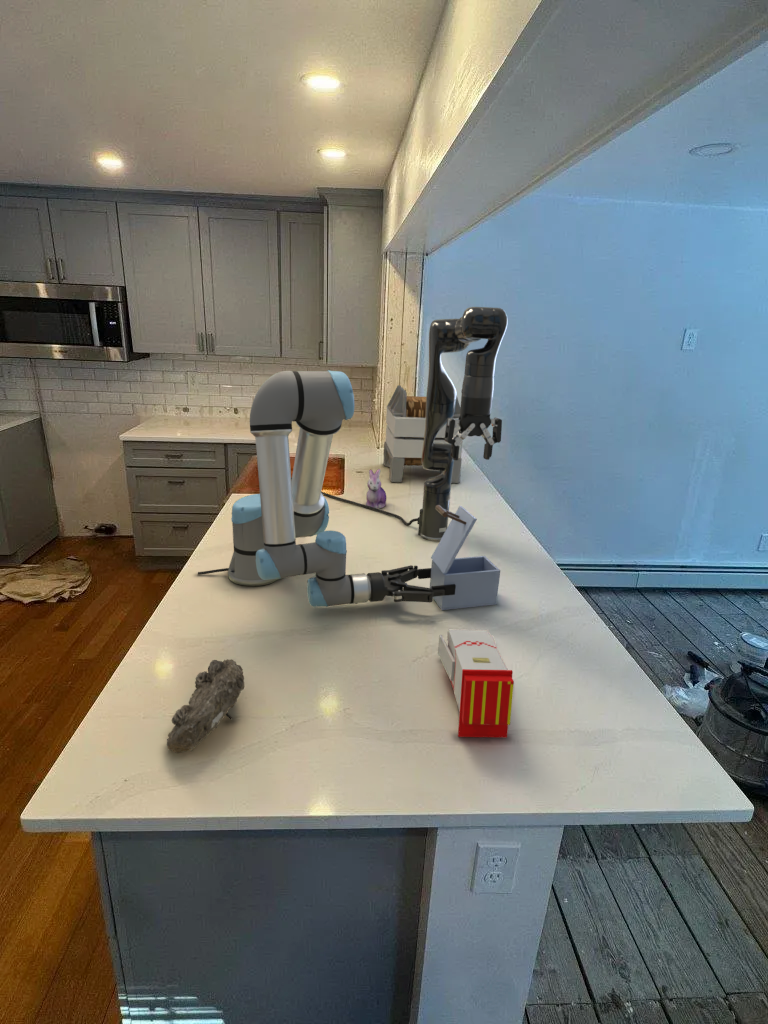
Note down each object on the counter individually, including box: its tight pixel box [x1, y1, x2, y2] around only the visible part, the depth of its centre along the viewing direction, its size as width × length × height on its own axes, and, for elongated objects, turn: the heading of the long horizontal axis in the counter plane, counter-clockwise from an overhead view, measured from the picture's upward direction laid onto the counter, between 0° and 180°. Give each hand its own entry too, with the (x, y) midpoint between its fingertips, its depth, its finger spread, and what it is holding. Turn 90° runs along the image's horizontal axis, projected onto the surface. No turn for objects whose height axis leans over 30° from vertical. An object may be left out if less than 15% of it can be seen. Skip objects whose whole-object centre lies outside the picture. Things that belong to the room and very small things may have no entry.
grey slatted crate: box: [383, 384, 464, 484], centre depth 268 cm, size 34×33×41 cm
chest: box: [429, 555, 501, 611], centre depth 155 cm, size 16×10×10 cm, turn 106°
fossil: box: [166, 658, 245, 754], centre depth 106 cm, size 22×10×15 cm
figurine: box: [365, 468, 387, 509], centre depth 224 cm, size 9×10×15 cm
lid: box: [430, 505, 478, 574], centre depth 148 cm, size 16×10×8 cm
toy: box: [437, 628, 515, 738], centre depth 117 cm, size 12×13×30 cm
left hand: (447, 580), depth 154 cm, fingers closed on chest, 10 cm apart
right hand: (470, 459), depth 143 cm, fingers open, 8 cm apart
